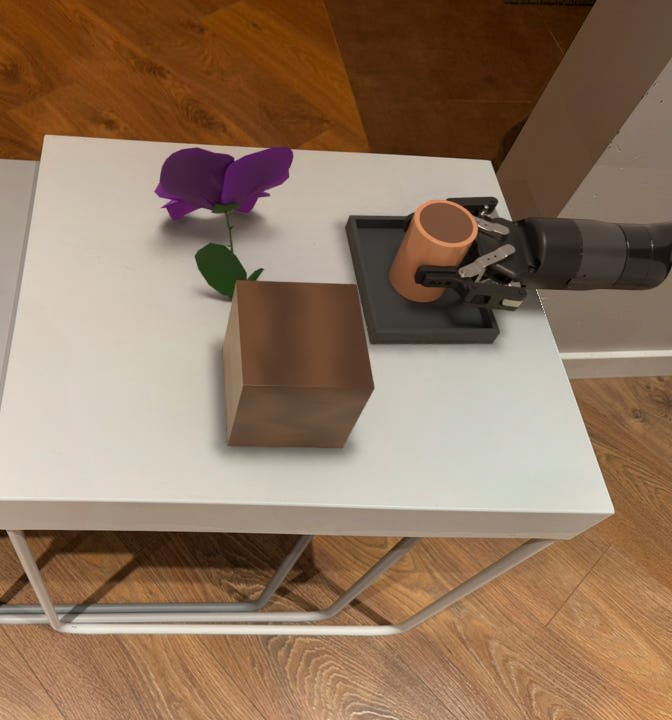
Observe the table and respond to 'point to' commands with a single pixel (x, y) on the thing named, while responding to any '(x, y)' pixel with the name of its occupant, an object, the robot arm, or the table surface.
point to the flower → (220, 198)
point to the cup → (432, 246)
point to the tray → (398, 314)
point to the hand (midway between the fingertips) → (411, 248)
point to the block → (295, 364)
